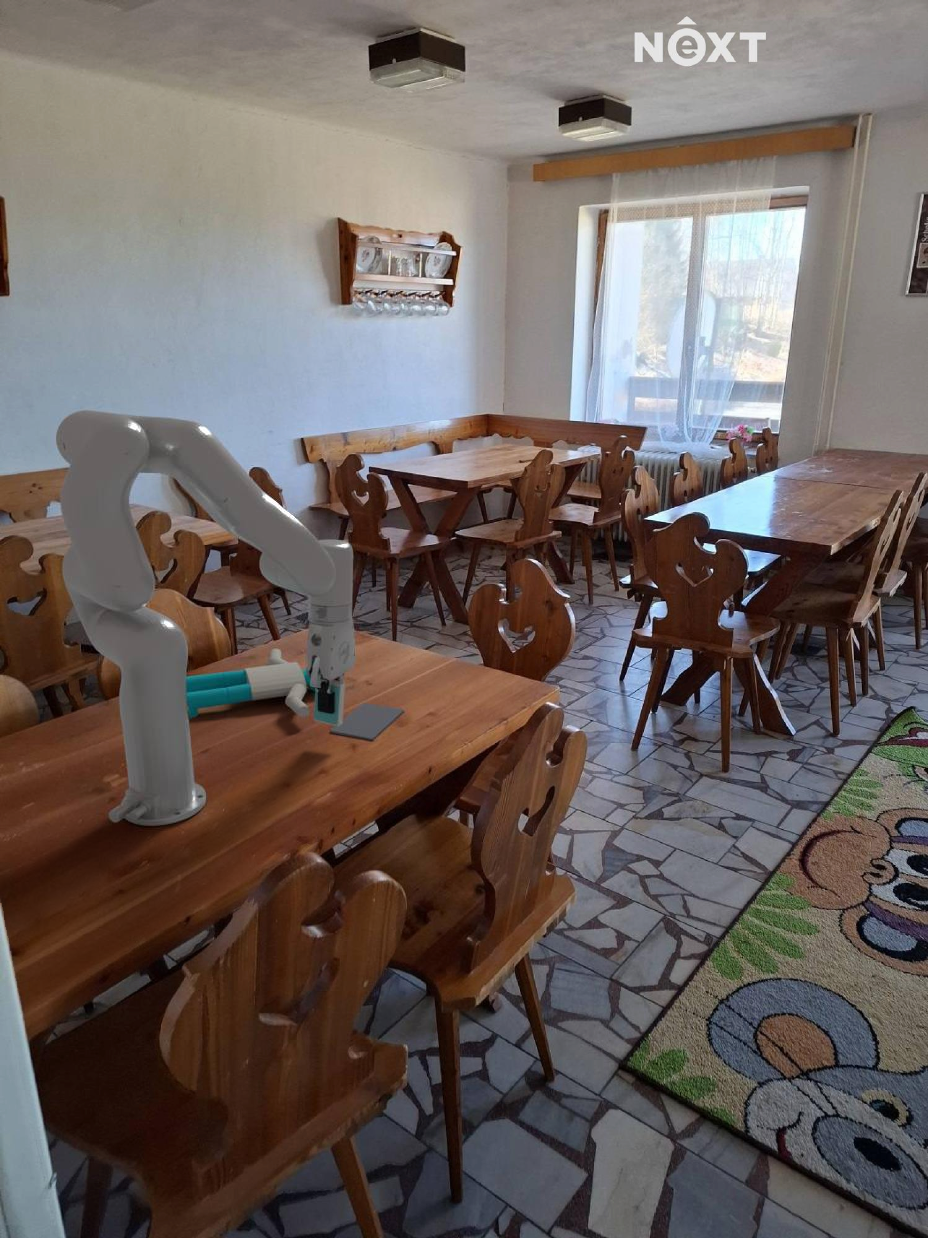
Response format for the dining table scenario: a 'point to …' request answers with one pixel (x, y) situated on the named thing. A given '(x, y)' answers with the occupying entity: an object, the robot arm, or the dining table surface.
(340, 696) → the slab
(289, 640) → the dining table surface
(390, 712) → the mat
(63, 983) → the dining table surface
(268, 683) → the toy
